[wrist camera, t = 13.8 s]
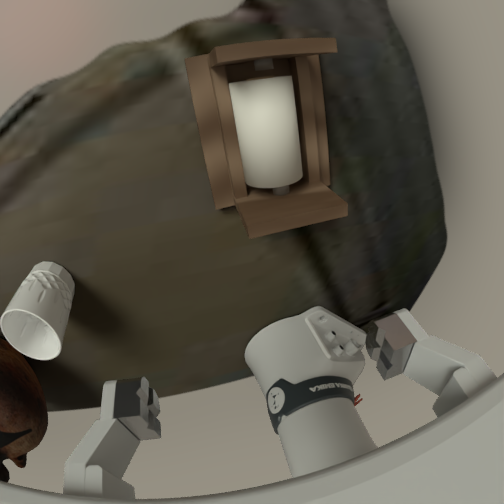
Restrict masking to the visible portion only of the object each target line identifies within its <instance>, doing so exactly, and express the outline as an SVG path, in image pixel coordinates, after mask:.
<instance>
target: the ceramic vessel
mask: <svg viewBox="0 0 504 504" xmlns="http://www.w3.org/2000/svg"><path fill="white" fill-rule="evenodd" d="M47 426H48V413H47V406H46V401H45V397H44V393H43V390H42V387H41V385H40V383H39V381H38V379H37V377H36V375H35V373H34V371H33V370H32V368H31V367H30V365H29V364H28V362H27V361H26V359H25V358H24V357H23V356H22V354H21V353H20V352H19V351H18V350H16V349H15V348H14V347H13V346H12V345H11V344H10V343H8V342H7V341H5V340H3V339H1V338H0V481H4V482H8V480H9V479H10V478H9V471H8V470H7V468H6V467H5V466H4V464H3V463H2V462H3V460H5V459H11V460H12V461H13V462H14V463H15V464H16V465H17V466H18V467H20V468H24V467H25V466H26V460H27V459H26V455H27V452H29V451H31V450H33V449H34V448H35V447H37V446H38V445H39V444H40V442H41V441H42V439H43V437H44V435H45V433H46V430H47Z"/></svg>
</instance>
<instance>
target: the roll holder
mask: <svg viewBox="0 0 504 504" xmlns="http://www.w3.org/2000/svg"><path fill="white" fill-rule="evenodd" d="M335 52H337V45H336V38H297V39H279V40H267V41H256V42H247V43H239V44H232V45H225V46H219V47H215V48H214V49H213V50H212V51H211V52H210V54H205V55H200V56H195V57H190V58H186V59H185V64H186V70H187V75H188V80H189V85H190V90H191V95H192V100H193V105H194V110H195V115H196V120H197V125H198V129H199V134H200V139H201V144H202V148H203V153H204V158H205V162H206V167H207V172H208V176H209V181H210V185H211V190H212V194H213V199H214V203H215V207H216V210H217V209H221V208H225V207H229V206H234V205H235V206H236V208H237V211H238V213H239V215H240V218H241V220H242V222H243V225H244V227H245V230H246V232H247V234H248V237H249V239H252V238H256V237H260V236H264V235H268V234H273V233H277V232H281V231H285V230H289V229H294V228H298V227H302V226H306V225H311V224H315V223H319V222H323V221H328V220H332V219H336V218H341V217H345V216H348V204H347V203H346V202H345V201H344V200H343V199H341V198H340V197H339V196H338V195H337V194H335V193H334V192H333V191H332V190H330V189H329V188H328V187H327V185H330V171H329V155H328V141H327V128H326V117H325V106H324V97H323V88H322V79H321V71H320V63H319V56H318V55H319V54H327V53H335ZM265 76H274V77H277V76H292V82H293V90H294V98H295V106H296V114H297V123H298V132H299V142H300V152H301V162H302V173H303V176H302V178H301V179H300V180H299V181H297V182H295V183H293V184H290V185H287V186H282V187H276V188H256V187H252V186H249V185H247V184H246V182H245V177H244V171H243V165H242V159H241V154H240V148H239V142H238V136H237V130H236V124H235V118H234V112H233V106H232V101H231V95H230V89H229V83H233V82H238V81H244V80H246V79H249V78H256V77H265Z"/></svg>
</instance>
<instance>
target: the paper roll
mask: <svg viewBox="0 0 504 504" xmlns="http://www.w3.org/2000/svg"><path fill="white" fill-rule="evenodd" d="M229 89H230V95H231V101H232V106H233V112H234V118H235V124H236V130H237V136H238V142H239V148H240V154H241V159H242V165H243V171H244V177H245V182H246V184H247V185H249V186H252V187H256V188H276V187H282V186H287V185H290V184H293V183H295V182H297V181H299V180H300V179H301V178H302V176H303V173H302V162H301V152H300V142H299V132H298V123H297V114H296V106H295V98H294V90H293V82H292V76H277V77H274V76H265V77H256V78H249V79H246V80H244V81H238V82H233V83H229Z"/></svg>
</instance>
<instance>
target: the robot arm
mask: <svg viewBox="0 0 504 504" xmlns="http://www.w3.org/2000/svg"><path fill="white" fill-rule="evenodd" d="M368 329H369V331H370V332H369V333H368V334H366V332H365V331H363V330H361V329H360V328H358V327H356V326H354V325H353V324H351V323H349V322H347V321H346V320H344V319H342V318H341V317H339V316H337V315H335V314H334V313H332V312H330V311H328V310H327V309H325V308H323V307H321V306H316V307H313V308H311V309H309V310H307V311H306V312H304V313H302V314H300V315H297V316H294V317H289V318H285V319H282V320H279V321H277V322H275V323H272V324H270V325H269V326H267V327H265V328H264V329H262V330H261V331H260V332H258V333H257V334H256V335H255V336H254V337H253V338H252V339H251V341H250V342H249V344H248V345H247V348H246V351H245V360H246V363H247V364H248V366H249V367H250V369H251V370H252V372H253V374H254V376H255V378H256V380H257V382H258V384H259V385H260V387H261V390H262V392H263V394H264V396H265V398H266V400H267V407H268V413H269V416H270V420H271V423H272V426H273V428H274V431H275V433H276V434H278V435H279V437H280V441H281V444H282V447H283V450H284V453H285V456H286V460H287V463H288V466H289V469H290V472H291V475H292V477H293V478H291V479H287V480H283V481H279V482H275V483H272V484H267V485H262V486H258V487H253V488H248V489H242V490H237V491H231V492H225V493H218V494H210V495H203V496H193V497H181V498H165V499H135V492H134V487H133V486H132V485H130V484H128V483H127V482H125V481H123V480H122V477H123V475H124V473H125V471H126V469H127V467H128V465H129V463H130V461H131V459H132V457H133V455H134V453H135V451H136V449H137V447H138V445H139V443H140V440H149V439H157V438H161V427H160V422H159V420H158V419H157V418H156V417H157V416H158V414H159V413H160V405H159V401H158V397H157V394H156V392H155V391H154V389H152V388H150V387H149V382H148V381H147V379H146V378H145V377H140V378H131V379H122V380H113V381H106V382H105V384H104V386H103V394H102V402H101V412H100V420H96V421H95V422H94V424H93V425H92V426H91V428H90V429H89V431H88V432H87V433H86V435H85V436H84V437H83V439H82V440H81V442H80V443H79V444H78V446H77V447H76V449H75V450H74V451H73V453H72V454H71V455H70V457H69V458H68V460H67V461H66V462H65V471H64V488H63V494H60V493H54V492H48V491H42V490H37V489H32V488H27V487H23V486H18V485H14V484H11V483H7V482H4V481H0V504H504V373H503V374H502V375H501V376H499V377H498V378H497V377H496V376H495V374H494V373H493V372H492V370H491V369H490V368H489V367H488V365H487V364H486V363H485V361H484V360H483V359H482V358H481V356H480V355H478V354H476V353H473V352H471V351H468V350H466V349H464V348H461V347H459V346H456V345H454V344H452V343H449V342H447V341H445V340H442V339H440V338H438V337H435V336H433V335H431V336H428V335H427V333H426V332H425V331H424V330H423V328H422V327H421V326H420V325H419V323H418V322H417V321H416V320H415V318H414V317H413V316H412V315H411V314H410V312H409V311H408V310H407V309H405V308H404V309H401V310H398V311H396V312H393V313H390V314H387V315H384V316H382V317H379V318H376V319H374V320H371V321H370V322H369V324H368ZM365 343H366V349H367V351H368V354H369V356H370V357H371V359H373V360H375V361H377V367H376V368H377V369H378V371H379V373H380V374H381V376H382V378H383V379H384V380H386V379H389V378H392V377H394V376H396V375H399V374H401V373H403V374H404V375H406V376H407V377H409V378H411V379H412V380H414V381H416V382H417V383H419V384H420V385H422V386H424V387H425V388H427V389H429V390H430V391H432V392H434V393H435V394H437V395H439V397H438V399H437V400H436V402H435V403H434V405H433V410H434V412H435V413H436V415H437V417H438V418H436V419H435V420H433V421H431V422H429V423H427V424H426V425H424V426H422V427H420V428H418V429H416V430H414V431H412V432H410V433H409V434H407V435H405V436H403V437H401V438H398V439H396V440H394V441H392V442H390V443H388V444H386V445H383V446H381V447H379V448H378V447H377V446H376V445H375V443H374V442H373V440H372V438H371V437H370V435H369V433H368V431H367V429H366V428H365V426H364V424H363V422H362V420H361V418H360V416H359V414H358V412H357V410H356V409H355V406H356V405H357V404H358V403H359V402H360V401H361V400H362V399H360V400H359V401H358V402H356V401H357V400H358V398H359V397H360V394H359V395H357V396H356V397H355V398H354V392H353V385H354V383H355V381H356V380H357V378H358V377H359V375H360V374H361V372H362V370H363V368H364V365H365V359H364V356H363V354H362V352H361V349H362V348H363V346H364V345H365Z"/></svg>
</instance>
